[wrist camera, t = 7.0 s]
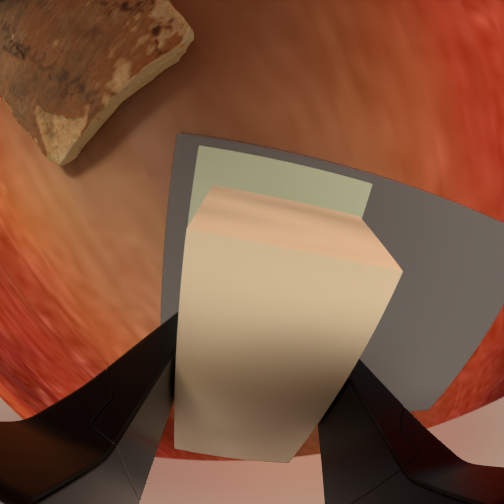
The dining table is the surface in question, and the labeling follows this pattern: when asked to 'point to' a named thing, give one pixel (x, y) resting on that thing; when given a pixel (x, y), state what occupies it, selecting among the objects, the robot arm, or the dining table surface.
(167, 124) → the dining table surface
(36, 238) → the dining table surface
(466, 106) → the dining table surface
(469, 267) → the mat
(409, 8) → the dining table surface
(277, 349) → the birch block
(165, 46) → the shard
